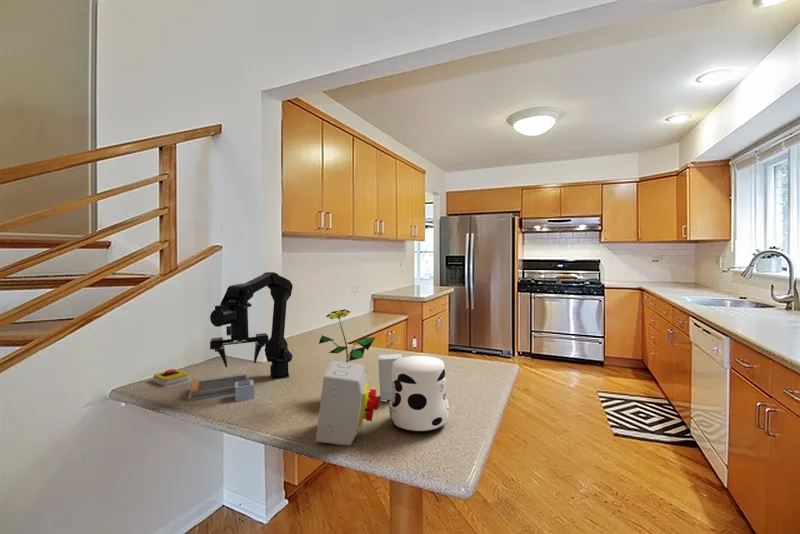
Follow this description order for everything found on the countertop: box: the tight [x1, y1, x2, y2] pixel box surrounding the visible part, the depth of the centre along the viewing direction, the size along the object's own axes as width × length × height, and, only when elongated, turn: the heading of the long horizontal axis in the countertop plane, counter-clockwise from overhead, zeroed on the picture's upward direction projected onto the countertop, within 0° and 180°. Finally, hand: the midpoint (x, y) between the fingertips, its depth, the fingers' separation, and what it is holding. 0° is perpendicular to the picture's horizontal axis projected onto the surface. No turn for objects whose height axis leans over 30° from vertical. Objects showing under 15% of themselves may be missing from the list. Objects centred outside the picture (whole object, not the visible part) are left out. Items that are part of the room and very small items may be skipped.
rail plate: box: [187, 373, 250, 402], centre depth 141 cm, size 20×13×4 cm, turn 114°
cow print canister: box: [388, 355, 450, 433], centre depth 111 cm, size 17×17×18 cm
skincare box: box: [377, 353, 403, 401], centre depth 130 cm, size 8×6×15 cm
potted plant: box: [318, 309, 376, 371], centre depth 129 cm, size 18×19×30 cm
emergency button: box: [151, 368, 193, 389], centre depth 152 cm, size 9×4×15 cm
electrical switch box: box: [315, 360, 381, 446], centre depth 106 cm, size 15×15×20 cm
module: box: [234, 379, 255, 402], centre depth 134 cm, size 6×6×5 cm
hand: (240, 365), depth 134 cm, fingers open, 9 cm apart
